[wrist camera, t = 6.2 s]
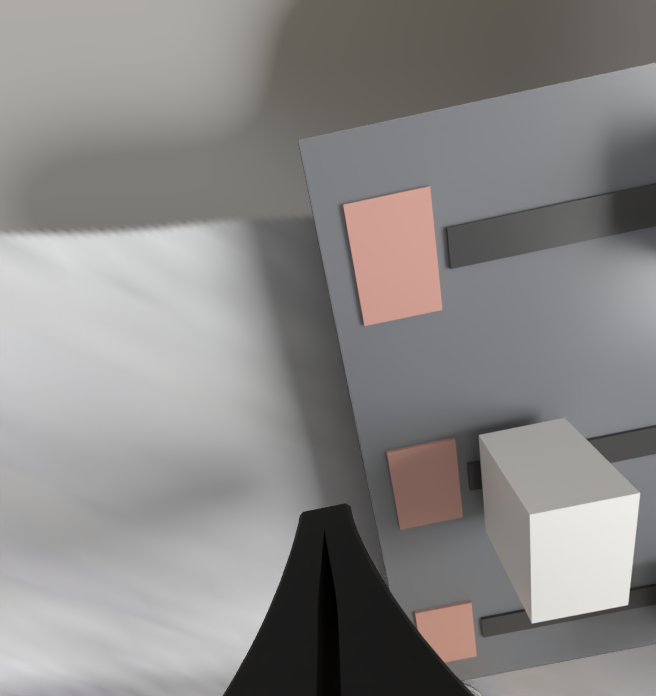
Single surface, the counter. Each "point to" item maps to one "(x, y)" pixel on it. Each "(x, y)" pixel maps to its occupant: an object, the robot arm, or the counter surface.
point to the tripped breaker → (558, 519)
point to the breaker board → (495, 335)
